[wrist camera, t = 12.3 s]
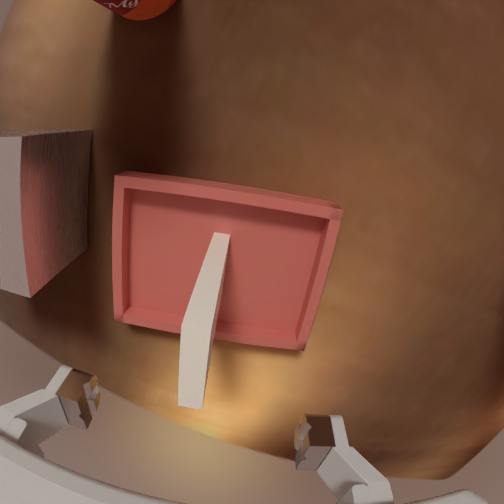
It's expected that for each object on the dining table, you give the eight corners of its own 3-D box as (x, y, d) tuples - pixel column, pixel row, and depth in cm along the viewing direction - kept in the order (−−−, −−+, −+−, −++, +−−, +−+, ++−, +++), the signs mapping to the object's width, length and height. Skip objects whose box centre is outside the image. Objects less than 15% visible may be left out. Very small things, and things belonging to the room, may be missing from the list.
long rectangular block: (230, 234, 24) (211, 330, 12) (221, 294, 25) (202, 409, 14) (214, 232, 23) (181, 325, 12) (206, 291, 25) (178, 405, 14)
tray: (334, 202, 24) (343, 210, 21) (300, 333, 28) (304, 350, 26) (127, 170, 23) (114, 175, 20) (124, 305, 27) (114, 320, 25)
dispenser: (92, 130, 21) (21, 136, 13) (87, 248, 25) (30, 297, 17) (13, 130, 21) (-58, 141, 13) (14, 234, 24) (-47, 272, 16)
